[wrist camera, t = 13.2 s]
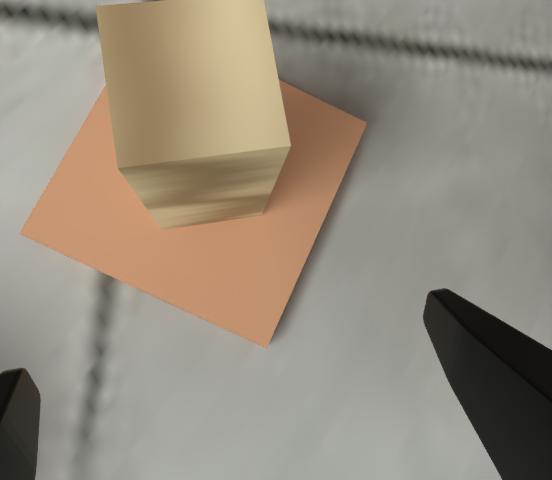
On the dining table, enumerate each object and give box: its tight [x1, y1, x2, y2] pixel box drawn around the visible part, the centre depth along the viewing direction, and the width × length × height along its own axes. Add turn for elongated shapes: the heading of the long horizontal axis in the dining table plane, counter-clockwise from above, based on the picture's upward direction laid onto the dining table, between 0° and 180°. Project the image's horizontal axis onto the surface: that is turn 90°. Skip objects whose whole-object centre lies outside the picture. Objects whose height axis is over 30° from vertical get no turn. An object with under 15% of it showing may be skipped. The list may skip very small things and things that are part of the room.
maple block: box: [96, 0, 291, 230], centre depth 19 cm, size 5×5×10 cm
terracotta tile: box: [19, 80, 367, 348], centre depth 24 cm, size 13×13×1 cm
